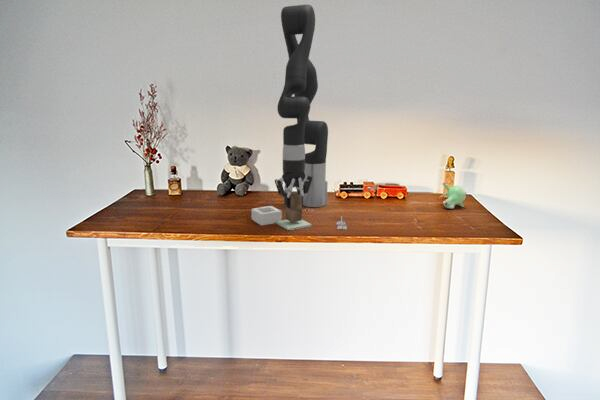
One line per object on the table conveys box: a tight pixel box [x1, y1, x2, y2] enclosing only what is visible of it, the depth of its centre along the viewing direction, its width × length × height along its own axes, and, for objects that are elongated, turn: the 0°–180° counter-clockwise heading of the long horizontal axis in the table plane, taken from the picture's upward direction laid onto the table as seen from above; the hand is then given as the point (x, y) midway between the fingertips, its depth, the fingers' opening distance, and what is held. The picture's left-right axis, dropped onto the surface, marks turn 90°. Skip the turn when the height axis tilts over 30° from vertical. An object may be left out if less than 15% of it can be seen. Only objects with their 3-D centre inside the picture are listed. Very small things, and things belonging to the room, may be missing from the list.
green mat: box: [275, 219, 312, 231], centre depth 165 cm, size 9×9×1 cm
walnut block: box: [285, 192, 303, 222], centre depth 164 cm, size 4×4×9 cm
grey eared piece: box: [336, 215, 348, 230], centre depth 167 cm, size 15×7×4 cm, turn 179°
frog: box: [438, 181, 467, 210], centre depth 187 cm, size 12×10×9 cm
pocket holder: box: [250, 205, 283, 226], centre depth 169 cm, size 8×8×4 cm
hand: (293, 206), depth 164 cm, fingers closed on walnut block, 4 cm apart
